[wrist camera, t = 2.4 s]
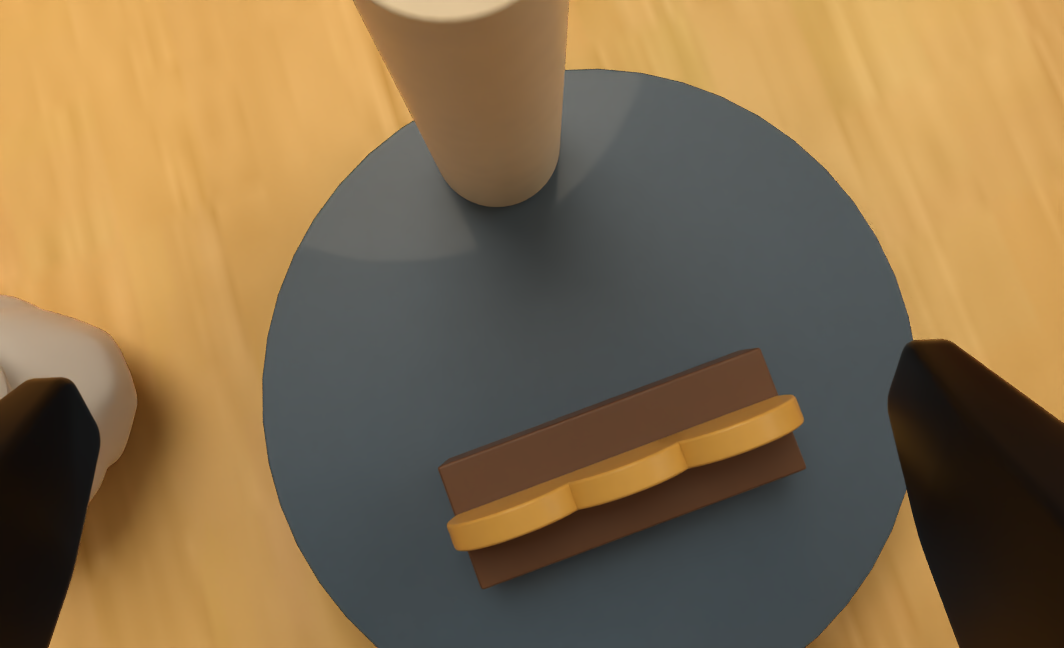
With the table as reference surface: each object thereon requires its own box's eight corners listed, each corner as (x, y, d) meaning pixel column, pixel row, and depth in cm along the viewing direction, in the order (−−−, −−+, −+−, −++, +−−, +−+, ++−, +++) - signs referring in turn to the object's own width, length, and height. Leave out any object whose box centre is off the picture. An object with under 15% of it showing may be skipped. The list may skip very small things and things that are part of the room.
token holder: (991, 575, 19) (1580, 835, 8) (400, 797, 19) (207, 1356, 8) (762, 1, 20) (1020, -449, 9) (195, 210, 20) (-225, 9, 9)
